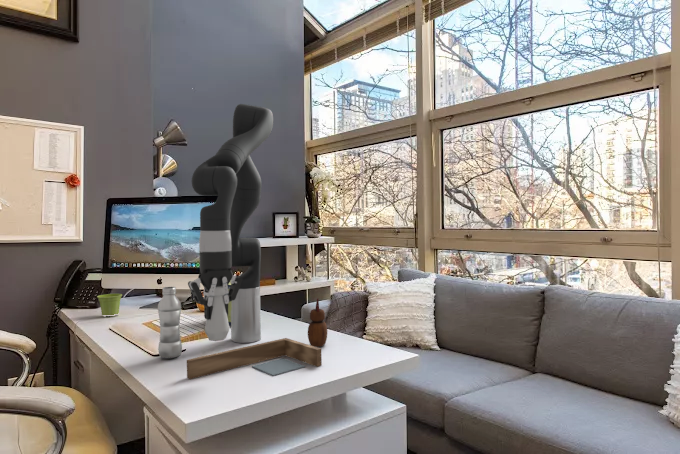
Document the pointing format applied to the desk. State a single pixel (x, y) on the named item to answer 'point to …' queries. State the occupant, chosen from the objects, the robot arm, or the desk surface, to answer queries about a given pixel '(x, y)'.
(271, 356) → the wooden l-shaped bracket
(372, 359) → the desk surface
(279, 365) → the pad
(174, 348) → the plastic bottle
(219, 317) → the salt shaker
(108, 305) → the plant pot
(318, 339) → the wooden figurine
